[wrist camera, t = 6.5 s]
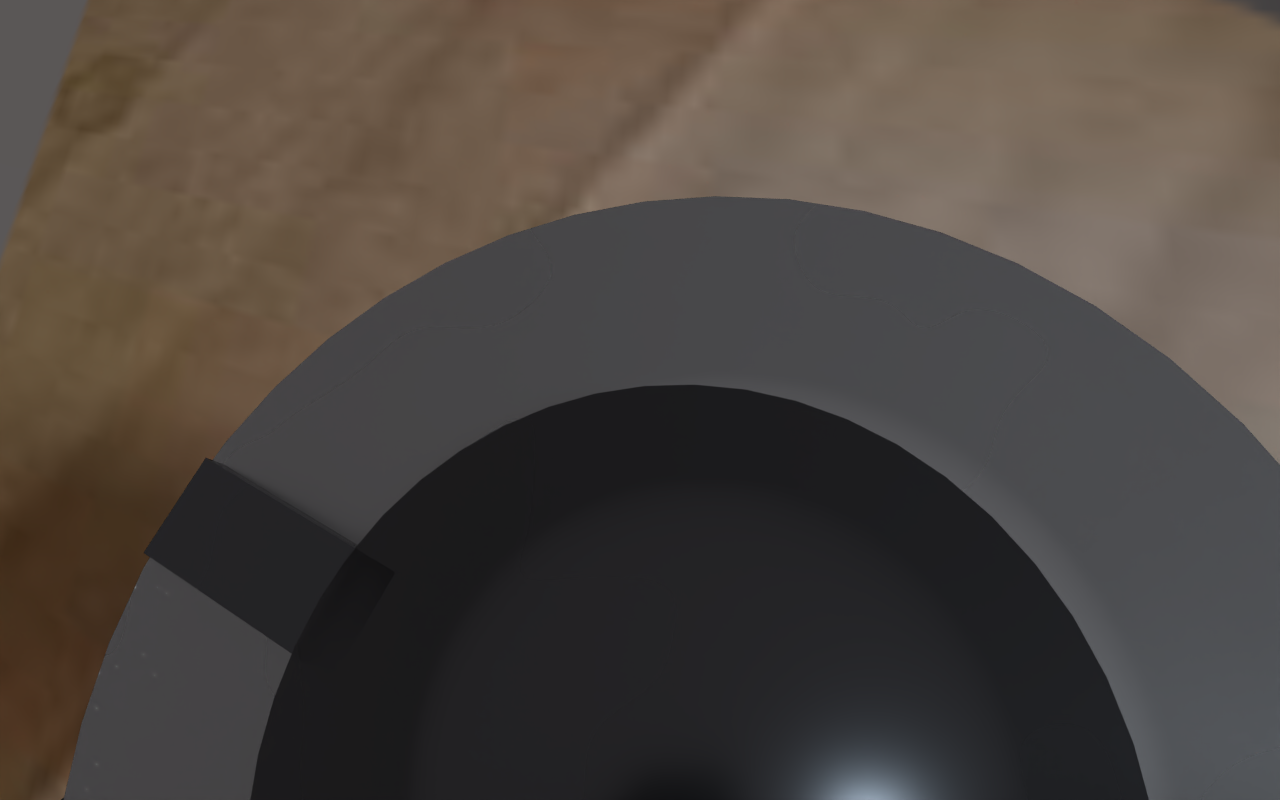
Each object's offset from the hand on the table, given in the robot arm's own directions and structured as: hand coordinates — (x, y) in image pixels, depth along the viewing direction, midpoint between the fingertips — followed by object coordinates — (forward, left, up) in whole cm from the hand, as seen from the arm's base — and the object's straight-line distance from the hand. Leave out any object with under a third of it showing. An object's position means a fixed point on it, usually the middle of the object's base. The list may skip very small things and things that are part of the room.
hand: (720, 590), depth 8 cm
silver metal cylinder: (-1, 0, -7) cm, 7 cm away
